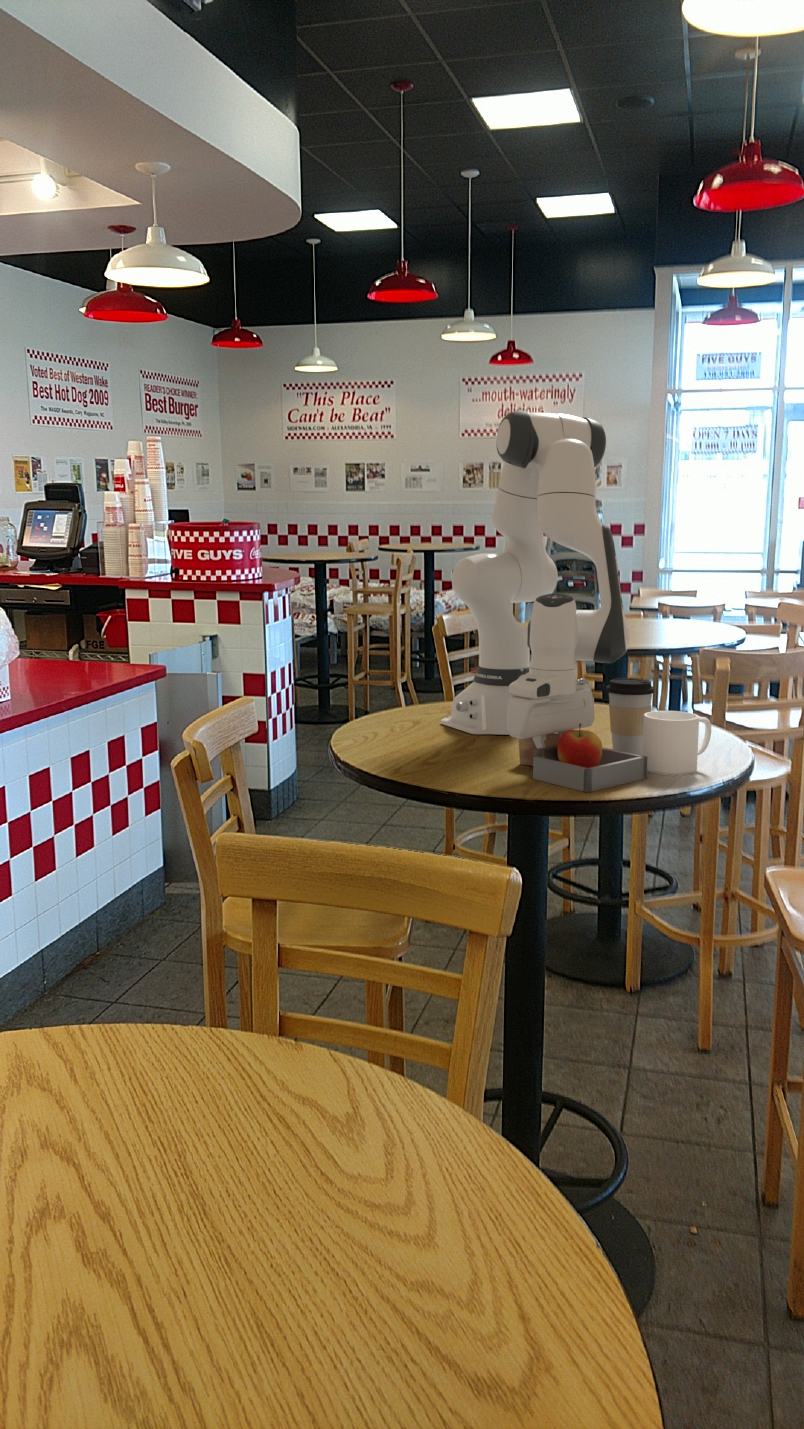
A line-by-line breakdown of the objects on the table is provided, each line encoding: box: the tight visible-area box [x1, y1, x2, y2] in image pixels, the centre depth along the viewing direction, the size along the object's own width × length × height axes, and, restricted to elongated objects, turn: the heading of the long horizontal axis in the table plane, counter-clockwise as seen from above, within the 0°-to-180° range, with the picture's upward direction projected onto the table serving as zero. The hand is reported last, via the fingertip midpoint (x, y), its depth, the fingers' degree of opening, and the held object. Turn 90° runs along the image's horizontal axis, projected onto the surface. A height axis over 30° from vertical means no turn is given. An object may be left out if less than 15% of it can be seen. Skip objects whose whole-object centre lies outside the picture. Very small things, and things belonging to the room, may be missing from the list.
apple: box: [557, 723, 603, 768], centre depth 194 cm, size 8×8×10 cm
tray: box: [532, 746, 648, 794], centre depth 193 cm, size 13×16×4 cm
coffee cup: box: [605, 677, 656, 755], centre depth 210 cm, size 9×9×15 cm
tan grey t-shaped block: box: [518, 733, 560, 767], centre depth 201 cm, size 10×10×6 cm
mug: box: [642, 710, 712, 776], centre depth 199 cm, size 13×10×10 cm
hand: (551, 755), depth 200 cm, fingers closed on tan grey t-shaped block, 3 cm apart
